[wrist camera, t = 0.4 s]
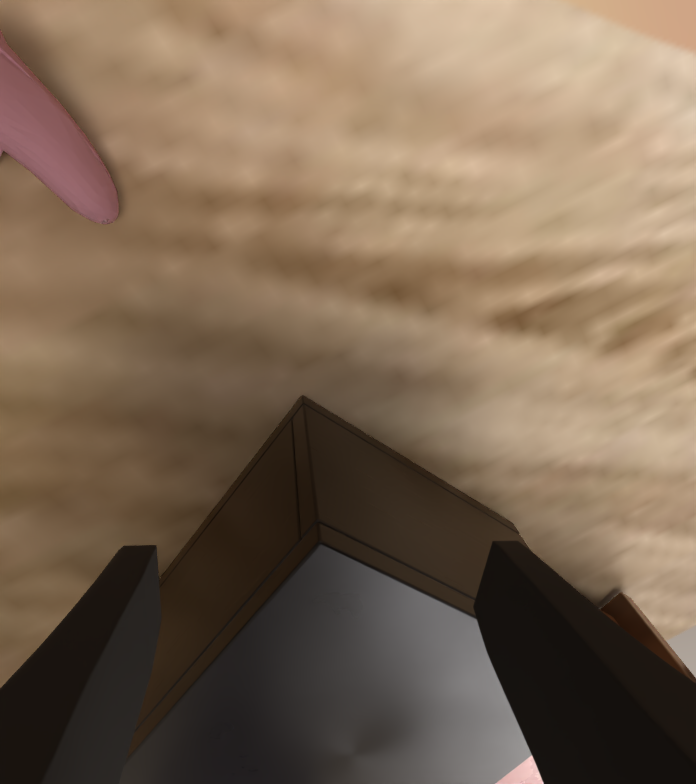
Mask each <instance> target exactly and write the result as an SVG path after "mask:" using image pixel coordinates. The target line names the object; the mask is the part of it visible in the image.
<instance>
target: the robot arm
mask: <svg viewBox="0 0 696 784" xmlns="http://www.w3.org/2000/svg"><path fill="white" fill-rule="evenodd" d="M473 608H474V612H475V615H476V619H477V622H478V625H479V629H480V632H481V635H482V639H483V642H484V645H485V648H486V651H487V654H488V656H489V659H490V661H491V663H492V666H493V668H494V670H495V673H496V675H497V677H498V680H499V682H500V684H501V686H502V689H503V691H504V693H505V696H506V698H507V700H508V702H509V705H510V707H511V709H512V711H513V714H514V716H515V718H516V720H517V723H518V725H519V727H520V729H521V732H522V734H523V736H524V738H525V741H526V743H527V745H528V747H529V750H530V752H531V754H532V756H533V759H534V761H535V763H536V766H537V768H538V771H539V773H540V776H541V778H542V781H543V783H544V784H696V683H695V682H693V681H692V680H691V679H689V678H688V677H686V676H685V675H683V674H682V673H680V672H679V671H678V670H676V669H675V668H674V667H672V666H671V665H669V664H668V663H667V662H665V661H664V660H663V659H661V658H660V657H659V656H657V655H656V654H655V653H653V652H652V651H651V650H649V649H648V648H647V647H646V646H644V645H643V644H642V643H640V642H639V641H638V640H637V639H635V638H634V637H633V636H631V635H630V634H629V633H627V632H626V631H625V630H624V629H623V628H621V627H620V626H619V625H618V624H616V623H615V622H614V621H613V620H611V619H610V618H609V617H608V616H606V615H605V614H604V613H603V612H602V611H600V610H599V609H598V608H597V607H596V606H594V605H593V604H592V603H591V602H590V601H589V600H587V599H586V598H585V597H584V596H583V595H581V594H580V593H579V592H578V591H577V590H576V589H574V588H573V587H572V586H571V585H570V584H569V583H567V582H566V581H565V580H564V579H563V578H562V577H561V576H559V575H558V574H557V573H556V572H555V571H554V570H552V569H551V568H550V567H549V566H548V565H547V564H545V563H544V562H543V561H542V560H541V559H540V558H539V557H537V556H536V555H535V554H534V553H533V552H531V551H530V550H529V549H528V548H527V547H525V546H524V545H523V544H522V543H520V542H519V541H492V545H491V548H490V551H489V555H488V558H487V562H486V565H485V568H484V572H483V575H482V578H481V582H480V585H479V589H478V592H477V595H476V599H475V602H474V605H473ZM161 619H162V617H161V603H160V589H159V574H158V560H157V546H156V545H142V546H123V547H122V548H121V549H120V550H118V552H117V553H116V554H115V556H114V557H113V558H112V560H111V561H110V562H109V564H108V565H107V566H106V568H105V569H104V570H103V572H102V573H101V574H100V575H99V577H98V578H97V579H96V580H95V582H94V583H93V584H92V586H91V587H90V588H89V589H88V590H87V592H86V593H85V594H84V595H83V597H82V598H81V599H80V600H79V601H78V603H77V604H76V605H75V606H74V607H73V609H72V610H71V611H70V612H69V613H68V614H67V616H66V617H65V618H64V619H63V620H62V621H61V623H60V624H59V625H58V626H57V627H56V628H55V630H54V631H53V632H52V633H51V634H50V635H49V636H48V638H47V639H46V640H45V641H44V642H43V643H42V644H41V646H40V647H39V648H38V649H37V650H36V651H35V652H34V653H33V654H32V655H31V656H30V657H29V658H28V659H27V661H26V662H25V663H24V664H23V665H22V666H21V667H20V668H19V669H18V670H17V671H16V672H15V673H14V674H13V675H12V677H11V678H10V679H9V680H8V681H7V682H6V683H5V684H4V685H3V686H2V687H1V688H0V784H119V782H120V779H121V775H122V772H123V768H124V765H125V762H126V758H127V755H128V751H129V748H130V745H131V741H132V738H133V735H134V731H135V728H136V724H137V721H138V718H139V714H140V711H141V707H142V704H143V700H144V697H145V694H146V690H147V687H148V683H149V680H150V676H151V673H152V668H153V663H154V658H155V652H156V647H157V642H158V636H159V630H160V625H161Z"/></svg>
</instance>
